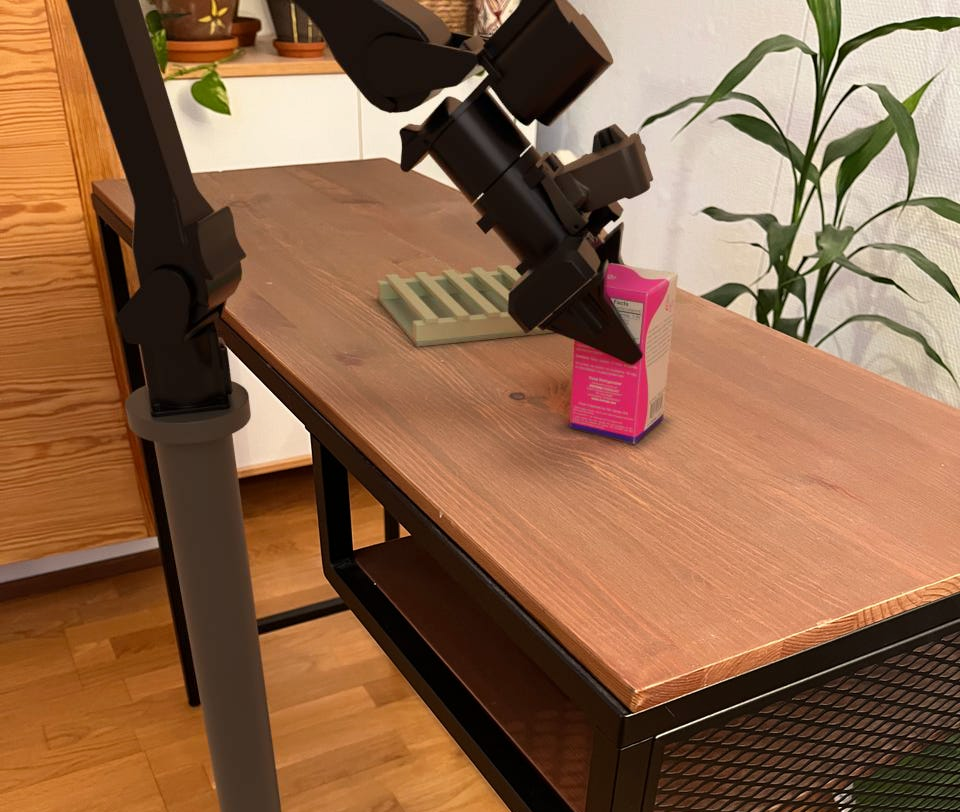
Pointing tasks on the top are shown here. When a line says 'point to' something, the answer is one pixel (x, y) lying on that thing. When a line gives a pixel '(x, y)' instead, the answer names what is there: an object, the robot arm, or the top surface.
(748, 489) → the top surface
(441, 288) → the drying rack
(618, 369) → the supplement box
